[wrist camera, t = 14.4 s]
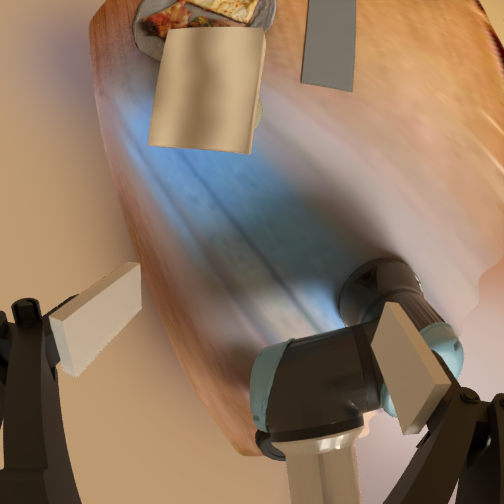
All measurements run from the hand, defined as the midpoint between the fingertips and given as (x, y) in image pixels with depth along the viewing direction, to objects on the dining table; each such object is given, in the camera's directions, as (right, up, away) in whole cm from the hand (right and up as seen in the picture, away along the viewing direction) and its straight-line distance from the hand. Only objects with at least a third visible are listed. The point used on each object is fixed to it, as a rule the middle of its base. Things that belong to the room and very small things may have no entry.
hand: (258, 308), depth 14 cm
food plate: (-9, +44, +22) cm, 50 cm away
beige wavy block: (-5, +21, +15) cm, 26 cm away
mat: (+13, +39, +20) cm, 46 cm away
